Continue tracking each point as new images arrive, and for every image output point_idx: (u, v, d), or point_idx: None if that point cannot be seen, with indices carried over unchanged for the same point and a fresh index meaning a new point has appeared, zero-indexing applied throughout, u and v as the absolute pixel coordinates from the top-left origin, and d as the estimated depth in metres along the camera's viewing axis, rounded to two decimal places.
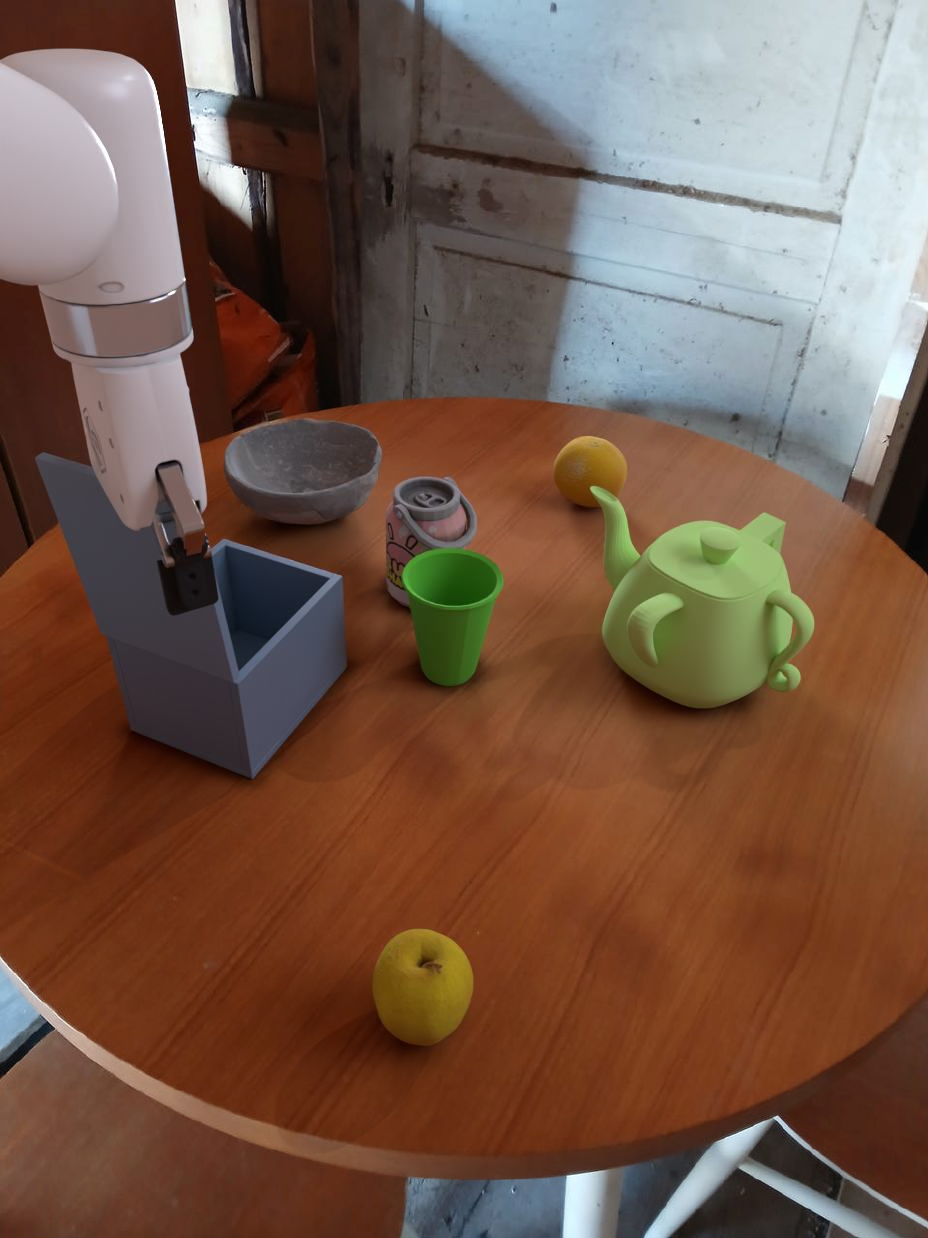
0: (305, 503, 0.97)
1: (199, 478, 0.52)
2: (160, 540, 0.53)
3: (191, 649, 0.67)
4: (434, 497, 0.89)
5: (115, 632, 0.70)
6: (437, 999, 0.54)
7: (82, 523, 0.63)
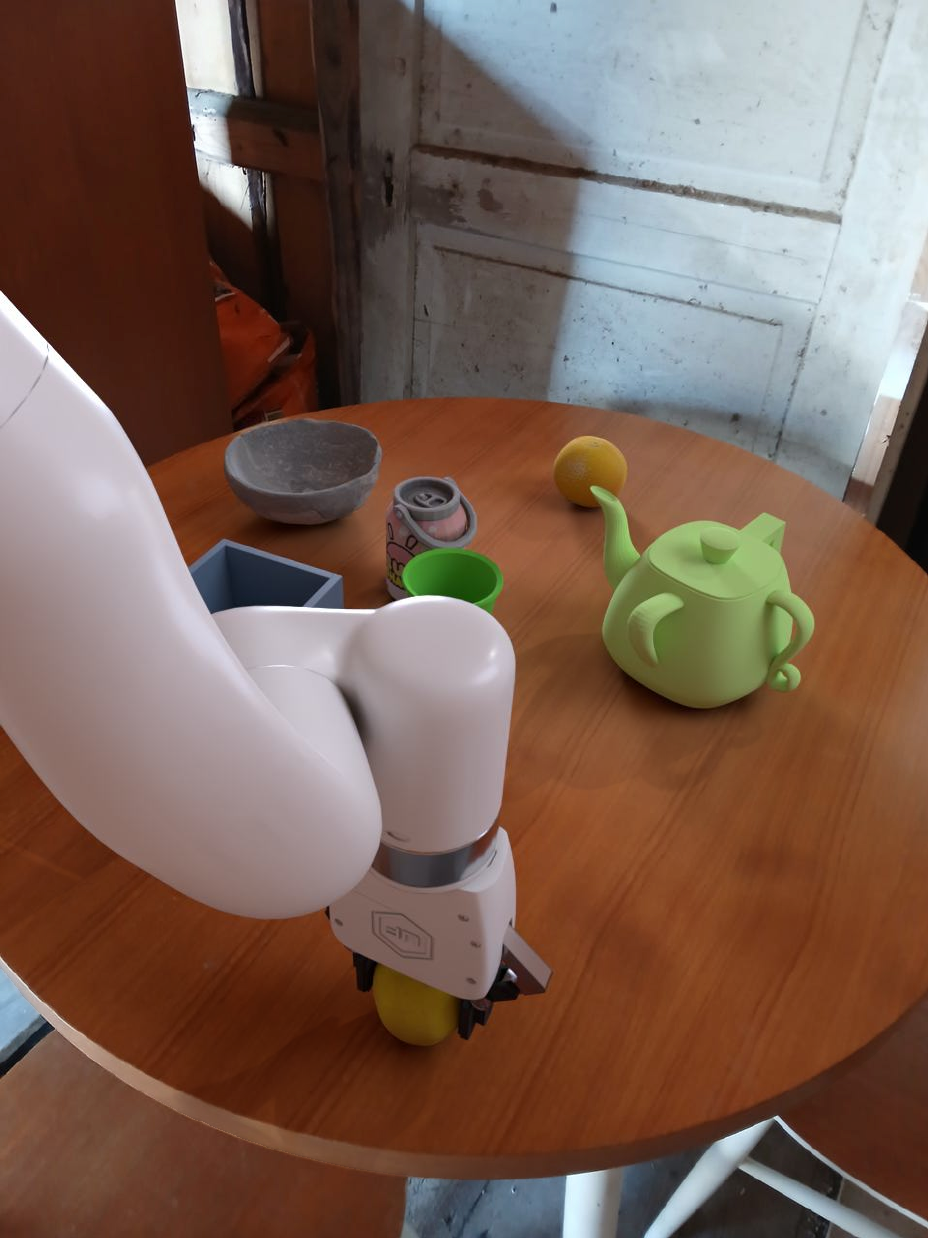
0: (305, 503, 0.97)
1: None
2: None
3: None
4: (434, 497, 0.89)
5: None
6: (437, 999, 0.54)
7: None
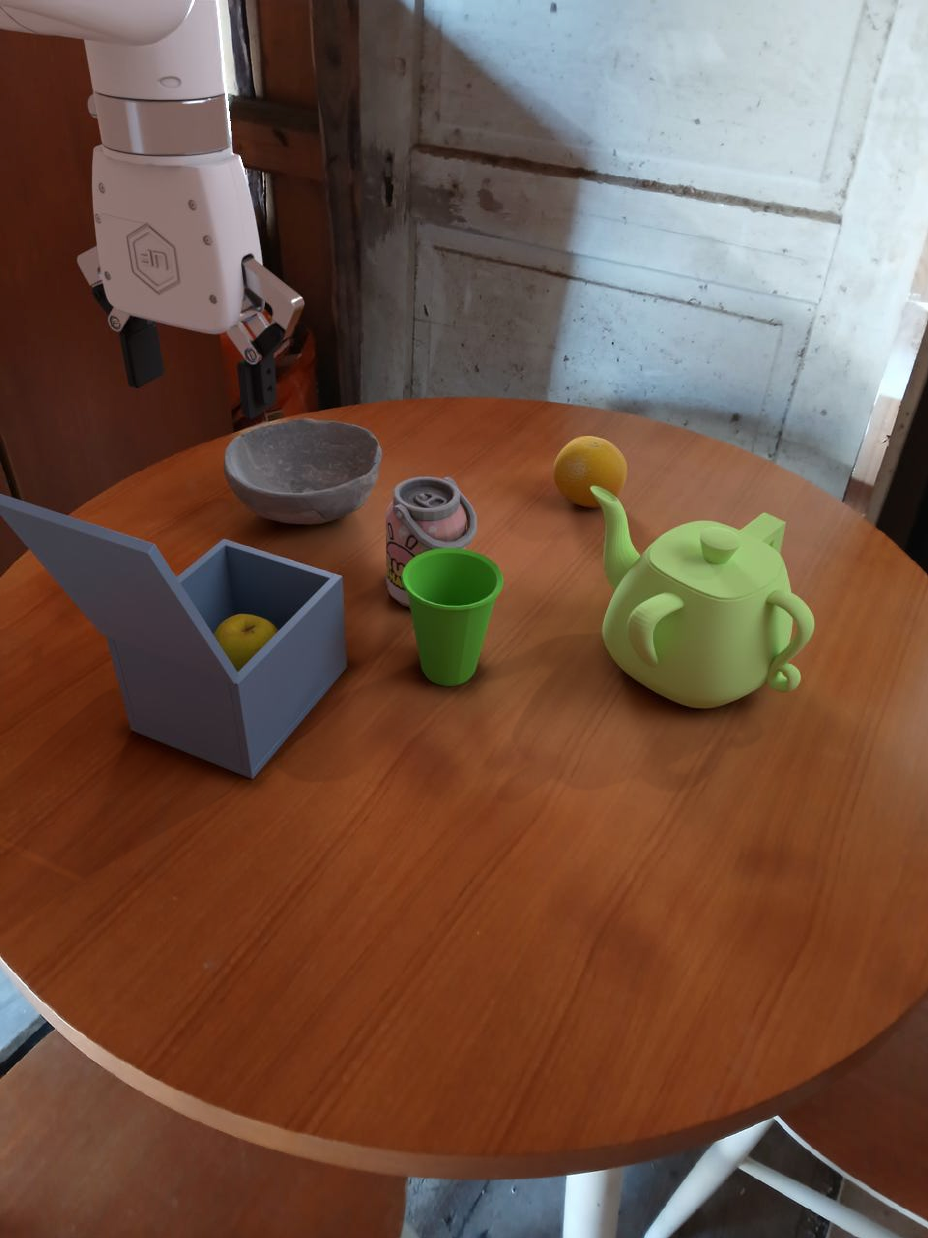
0: (305, 503, 0.97)
1: None
2: (246, 336, 0.58)
3: (187, 656, 0.67)
4: (434, 497, 0.89)
5: (114, 635, 0.70)
6: (250, 648, 0.77)
7: (53, 555, 0.61)
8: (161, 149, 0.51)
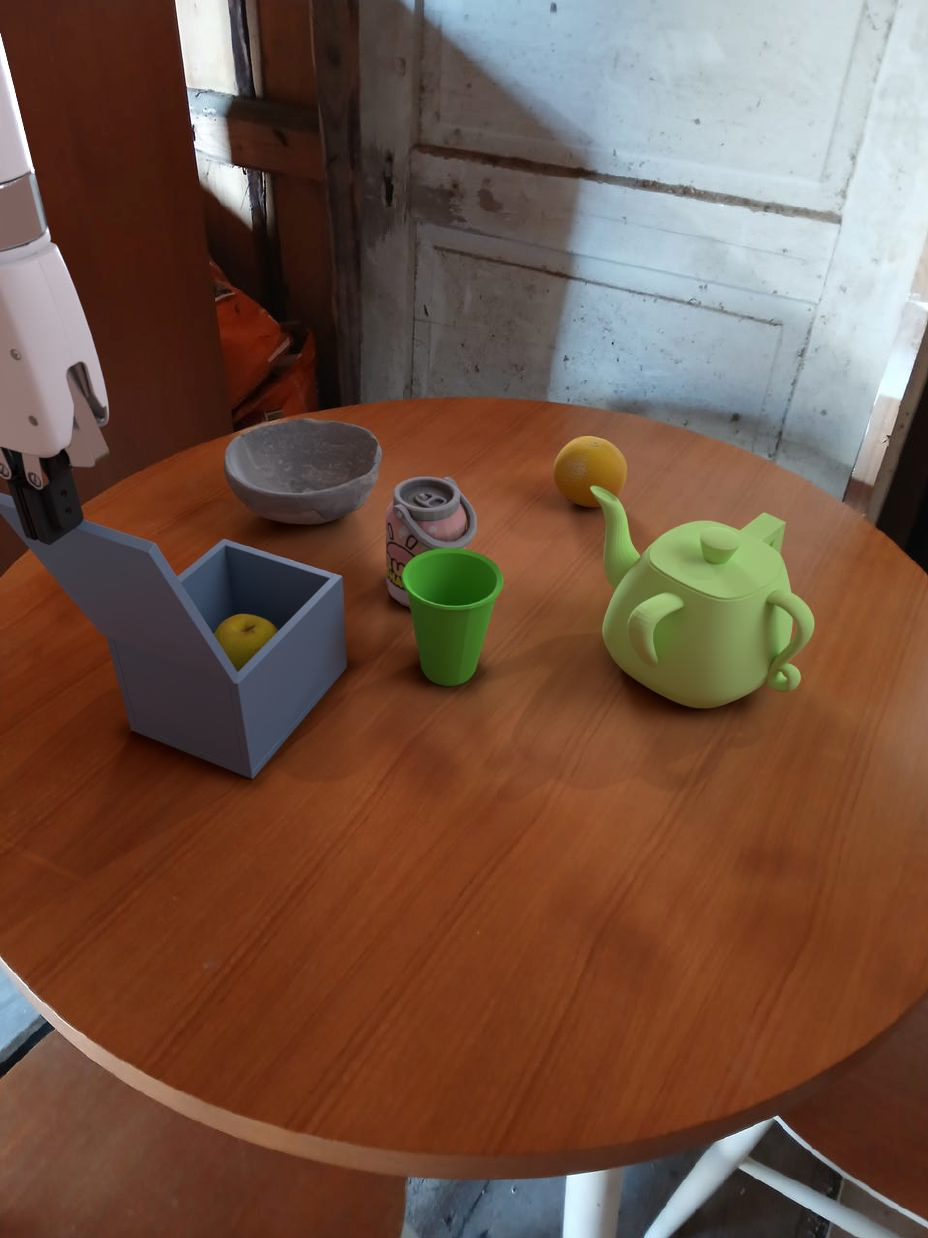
0: (305, 503, 0.97)
1: (102, 381, 0.48)
2: (41, 468, 0.50)
3: (187, 656, 0.67)
4: (434, 497, 0.89)
5: (114, 635, 0.70)
6: (250, 648, 0.77)
7: (53, 554, 0.61)
8: None
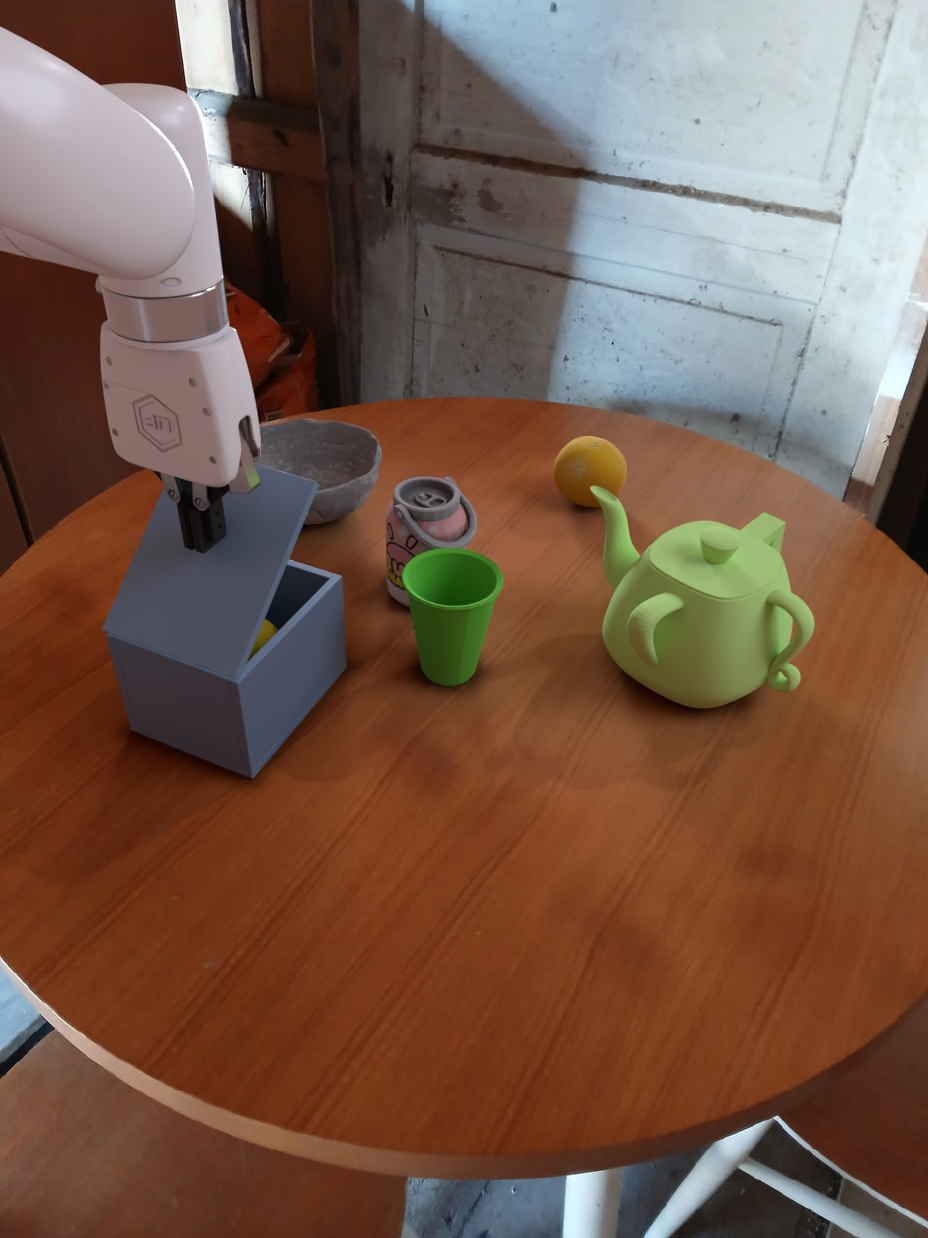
0: None
1: (259, 428, 0.63)
2: (207, 494, 0.65)
3: (209, 638, 0.69)
4: (434, 497, 0.89)
5: (123, 625, 0.71)
6: None
7: None
8: (163, 337, 0.56)
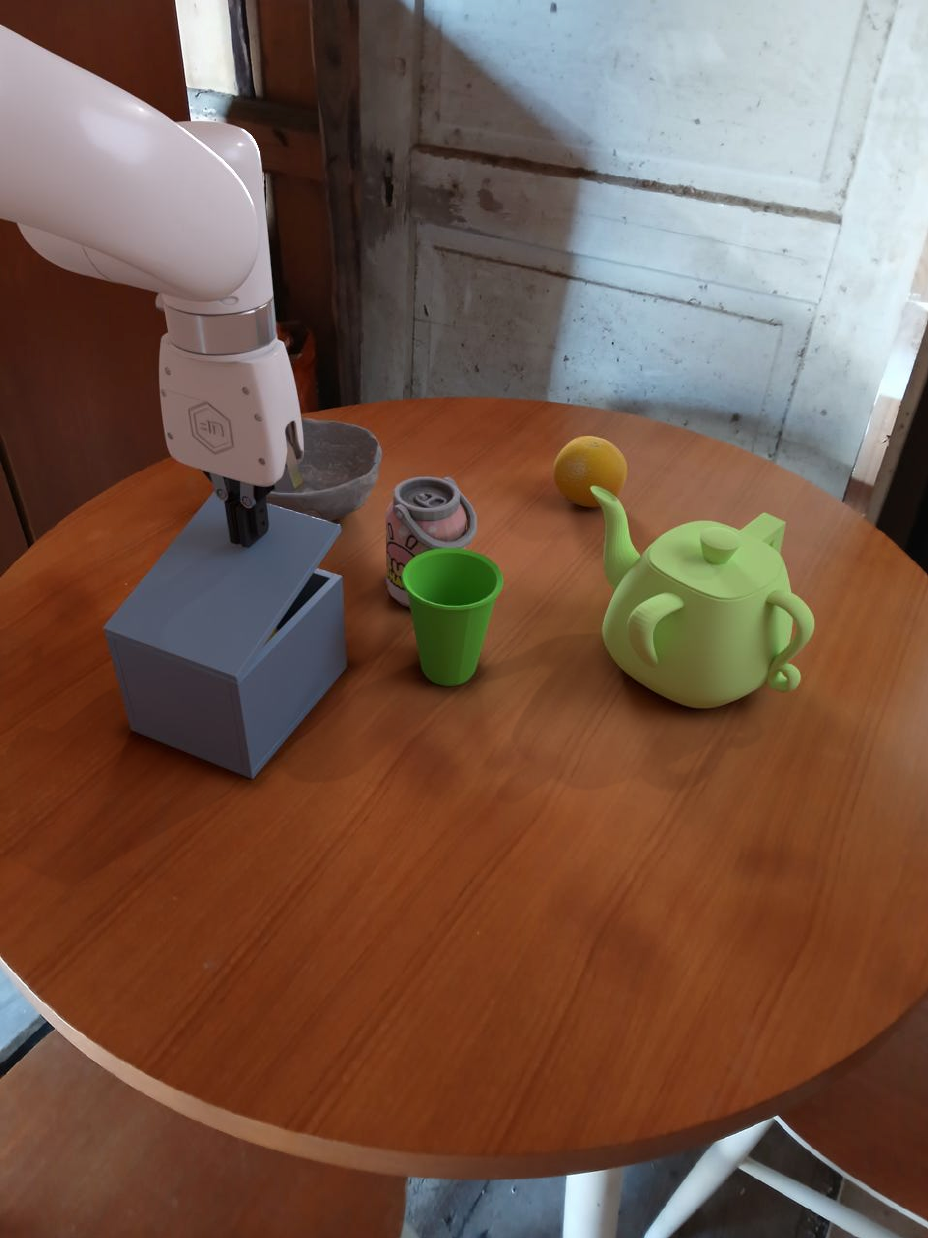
0: (305, 503, 0.97)
1: (302, 432, 0.69)
2: (253, 493, 0.71)
3: (214, 641, 0.70)
4: (434, 497, 0.89)
5: (126, 625, 0.71)
6: None
7: (209, 532, 0.77)
8: (221, 350, 0.61)
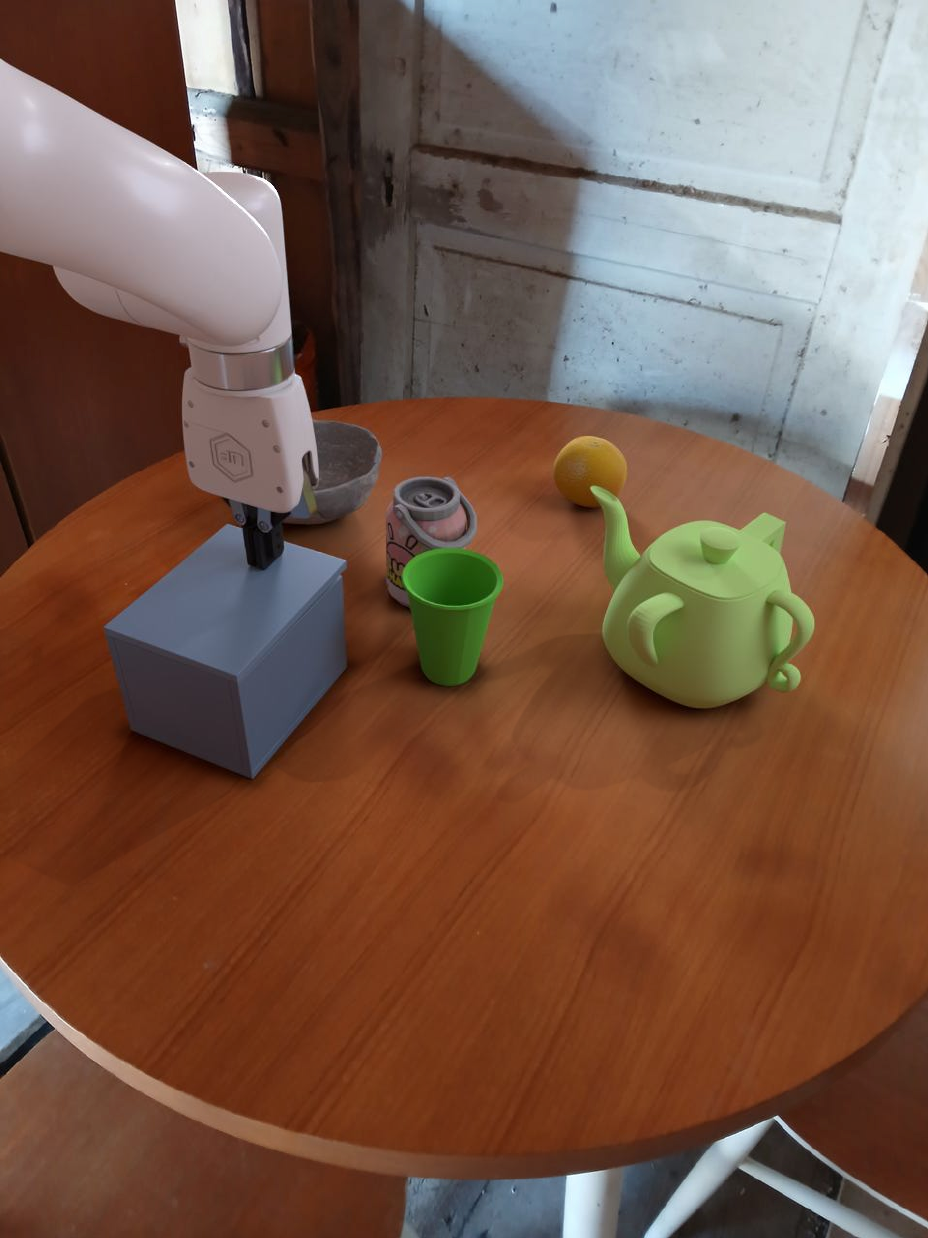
0: None
1: (317, 461, 0.72)
2: (270, 518, 0.74)
3: (217, 645, 0.70)
4: (434, 497, 0.89)
5: (128, 626, 0.71)
6: None
7: (217, 557, 0.79)
8: (242, 386, 0.65)
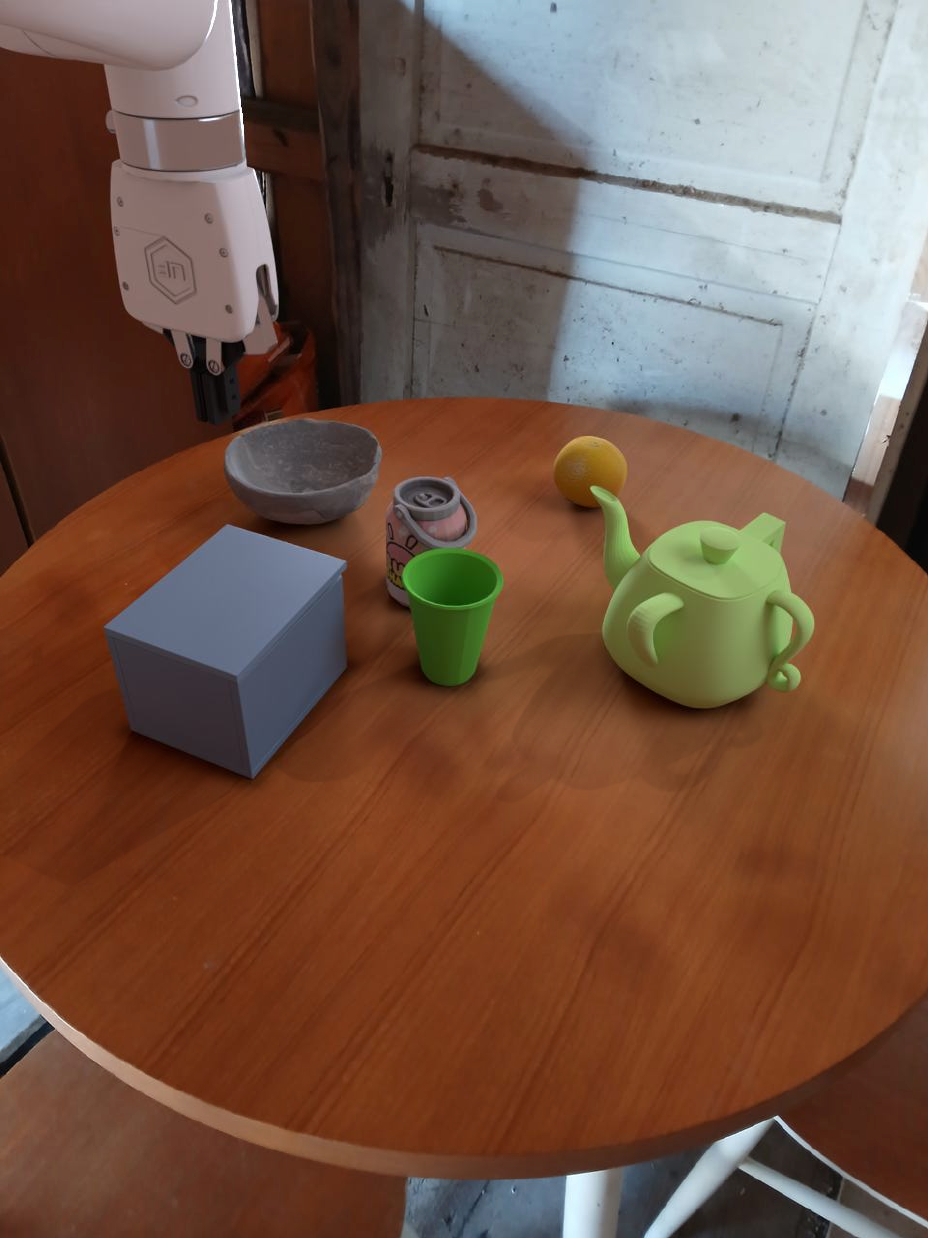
0: (305, 503, 0.97)
1: None
2: (221, 355, 0.62)
3: (217, 645, 0.70)
4: (434, 497, 0.89)
5: (128, 626, 0.71)
6: None
7: (217, 557, 0.79)
8: (178, 165, 0.53)
